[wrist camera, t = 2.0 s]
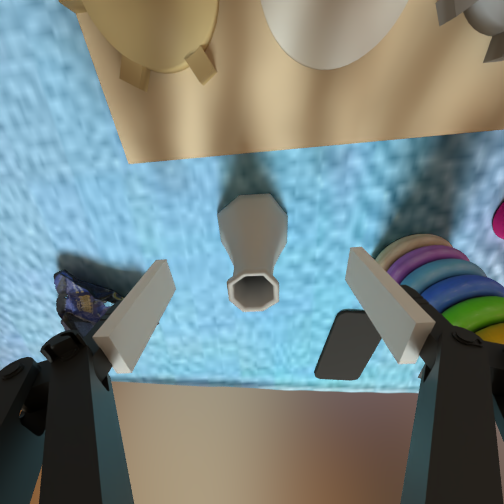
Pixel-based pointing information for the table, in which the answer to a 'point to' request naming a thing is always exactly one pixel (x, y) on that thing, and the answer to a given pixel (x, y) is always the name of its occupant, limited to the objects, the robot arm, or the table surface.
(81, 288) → the snack package
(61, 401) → the robot arm
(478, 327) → the stacking toy
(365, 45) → the gear board
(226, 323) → the table surface
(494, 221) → the pepper mill
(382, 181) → the table surface
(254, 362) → the table surface
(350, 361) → the phone
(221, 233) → the flask
